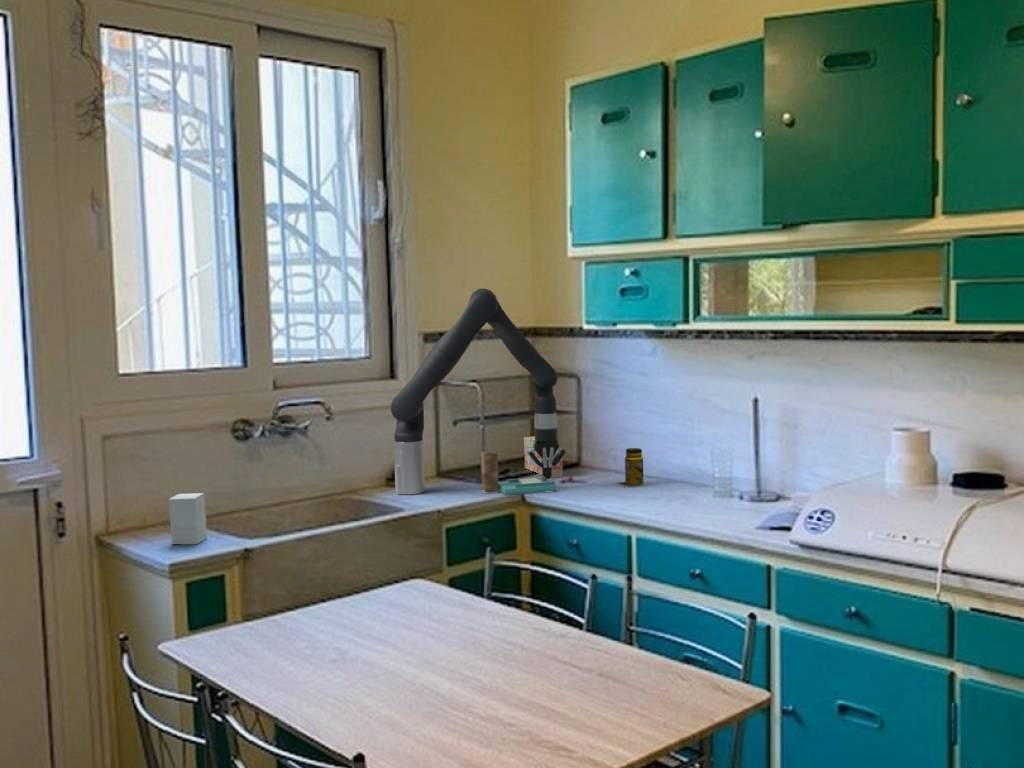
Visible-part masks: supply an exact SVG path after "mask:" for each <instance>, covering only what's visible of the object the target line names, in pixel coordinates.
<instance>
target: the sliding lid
mask: <svg viewBox="0 0 1024 768" xmlns="http://www.w3.org/2000/svg"><path fill="white" fill-rule="evenodd" d="M535 476H536V477H529V478H530V479H522V478H518V479H519V482H520V483H521V484H528V483H542V482H546V477H545V476H543V475H541V474H535Z"/></svg>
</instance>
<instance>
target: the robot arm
mask: <svg viewBox="0 0 1024 768" xmlns="http://www.w3.org/2000/svg"><path fill="white" fill-rule="evenodd" d="M486 324H488V325H489V326H490V327H491V328H492V329H493V330H494V332H495V333H496V335H498V337H499V339H500V340H501V341H502V343H503V344H504V346H505V347H506V348H507V350H508V352H509V353H510V354H511V355H512V356H513V358H514V359H515V360H516V361H517V362H518V364H519V365H520V366H521V367H523V368H524V369H526V370H527V371H528V373H529V374H530V375H531V382H532V390H533V395H534V419H533V421H534V423H533V425H534V436H535V444H534V448H533V449H532V450H531V451H528V455H529V456H530V457H531V458H532V460H533V461H534V462H535V463H536V464H537V465H538V466H540V467H542V475H543V476H545V477H546V479H547V480H549V479H551V478H550V477H551V476H552V466H554V465H557V464H558V462H559V461H560V459H561V458H562V457H563V458H564V456H565V454H566V450H565V449H563V448H561V446H560V444H559V442H558V437H559V435H558V417H557V401H556V400H557V399H556V396H555V395H554V386H555V385H556V384H557V383H558V379H559V378H558V373H557V371H556V370H555V369H554V367H553V366H552V365H551V364H550V363H549V362H548V361H547V360H546V359H545V358H544V357H543V356H542V355H541V354H540V353H539V352H538V350H537V349H536V348H535V347H534V346H533V345H532V343H531V342H530V341H529V339H528V338H527V337H526V336H525V335H524V334H523V332H521V331H520V330H519V329H518V327H517V326H516V325H515V323H513V322H512V320H511V319H510V318H509V316H508V315H507V313H506V312H505V310H504V309H503V307H502V306H501V304H500V302H499V301H498V297H497V296H496V294H495V293H494V292H493V291H491V290H490V289H487V288H478V289H476V290H474V291H472V293H471V295H470V297H469V301H468V304H467V306H466V308H465V310H464V311H463V312H462V313H461V316H460V317H459V318H458V320H457V321H456V323H455V324H454V325H452V327H451V328H449V329H448V330H447V331H446V332H445V333H444V334H443V335H442V336H441V337H440V338H439V339H438V340H437V342H436V343H435V344H434V345H433V347H432V348H431V350H430V351H429V352H428V353H427V355H426V357H425V358H424V359H423V361H422V363H421V364H420V366H419V367H418V369H417V371H416V372H415V374H413V376H412V378H410V380H409V381H408V383H406V385H405V386H404V387H403V388H402V389H401V390H400V391H399V392H398V393H397V394H396V395H395V396H394V398H393V399H392V401H391V404H390V413H391V415H392V416H393V418H394V419H396V426H395V431H394V436H393V437H394V457H395V458H394V459H395V461H394V486H395V487H394V488H395V492H396V494H397V495H417V494H422V493H424V492H425V471H424V469H425V468H424V467H425V466H424V439H423V435H424V431H425V430H424V429H425V411H424V409H425V408H424V407H425V406H424V401H425V399H427V397H428V395H429V394H430V392H431V391H432V390H433V389H434V388H435V387H437V385H439V384H440V382H442V381H443V380H444V379H445V378H446V377H447V376H448V375H449V374H450V373H451V372H452V370H454V368H455V366H456V365H457V364H458V362H459V361H460V360H461V359H462V356H464V354H465V353H466V351H467V349H468V348H469V346H470V345H471V343H472V342H473V340H474V339H475V337H476V335H477V334H478V333H479V332H480V331H481V329H483V328H484V326H485V325H486ZM535 451H536V452H537V453H538V455H539V456H540V458H541V462H540V461H539V460H538V459H537V457H536V453H535ZM556 451H557V455H556V456H555V458H554V459H553V456H554V454H555V453H556Z"/></svg>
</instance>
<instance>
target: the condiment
mask: <svg viewBox="0 0 1024 768" xmlns="http://www.w3.org/2000/svg"><path fill="white" fill-rule="evenodd" d="M624 478H625V480H624V481H623V482H621V481H619V482H618V481H617V482H616V483H617V484H618V485H619V486H620V487H624V488H626V487H645V486H647V484H645V483H644V457H643V451H642V448H639V447H638V448H637V447H629V448H626V449H625V457H624Z"/></svg>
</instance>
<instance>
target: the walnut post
mask: <svg viewBox="0 0 1024 768" xmlns="http://www.w3.org/2000/svg"><path fill="white" fill-rule="evenodd" d="M498 457H499V455H498V452H497V451H495V450H491V451H489V450H488V451H480V461H481V463H480V464H481V468H480V469H481V491H482V490H484V491H485V492H498V493H499V492H500V491H499V489H498V483H499V459H498Z"/></svg>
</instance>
